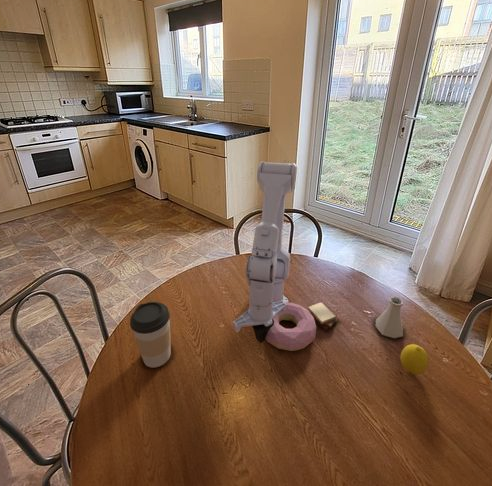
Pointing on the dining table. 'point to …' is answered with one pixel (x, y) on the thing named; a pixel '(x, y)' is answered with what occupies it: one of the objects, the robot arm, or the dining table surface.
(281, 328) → the donut
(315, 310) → the letter pile
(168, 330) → the coffee cup
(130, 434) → the dining table surface
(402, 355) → the lemon
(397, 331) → the flask
